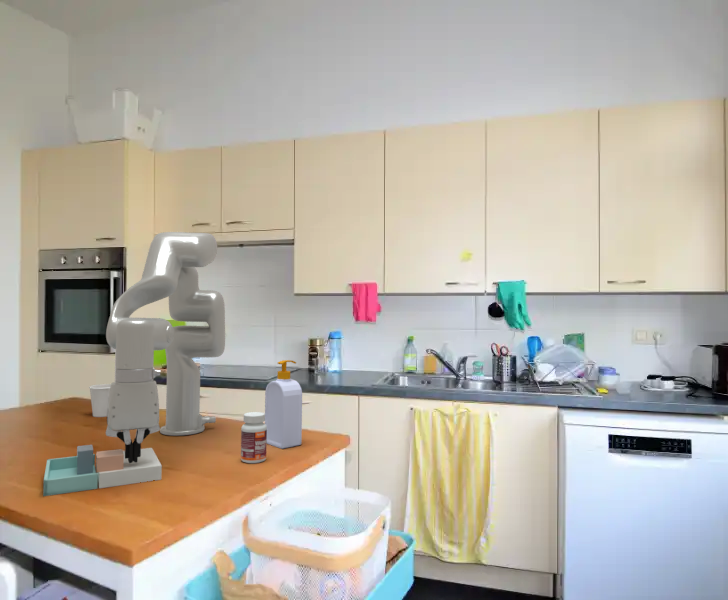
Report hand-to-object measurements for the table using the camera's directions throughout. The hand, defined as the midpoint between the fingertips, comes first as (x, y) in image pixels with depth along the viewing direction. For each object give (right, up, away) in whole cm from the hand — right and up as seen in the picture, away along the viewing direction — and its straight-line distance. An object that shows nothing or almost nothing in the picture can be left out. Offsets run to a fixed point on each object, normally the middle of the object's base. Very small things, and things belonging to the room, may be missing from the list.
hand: (132, 460), depth 111 cm
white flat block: (-3, -4, +4) cm, 6 cm away
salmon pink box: (-4, -1, -2) cm, 4 cm away
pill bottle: (+23, -5, +15) cm, 28 cm away
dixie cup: (-39, -5, +64) cm, 75 cm away
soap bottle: (+28, -5, +30) cm, 42 cm away
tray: (-12, -4, -2) cm, 13 cm away
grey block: (-11, -1, +4) cm, 11 cm away
